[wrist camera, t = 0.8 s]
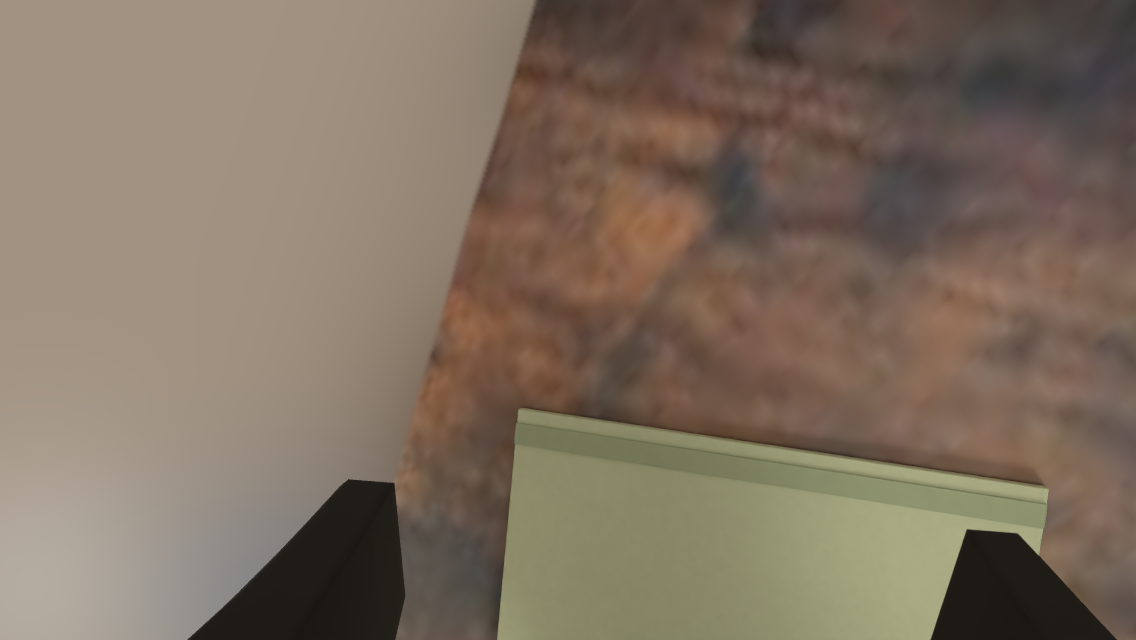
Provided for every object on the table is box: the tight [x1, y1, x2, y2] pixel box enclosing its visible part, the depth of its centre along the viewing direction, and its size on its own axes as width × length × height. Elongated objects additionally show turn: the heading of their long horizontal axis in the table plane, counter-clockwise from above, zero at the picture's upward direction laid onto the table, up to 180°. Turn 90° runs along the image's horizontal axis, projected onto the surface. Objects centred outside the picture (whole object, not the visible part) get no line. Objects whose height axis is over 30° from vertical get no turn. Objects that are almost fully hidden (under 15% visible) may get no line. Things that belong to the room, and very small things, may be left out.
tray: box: [497, 408, 1049, 640], centre depth 32 cm, size 9×18×1 cm, turn 84°
